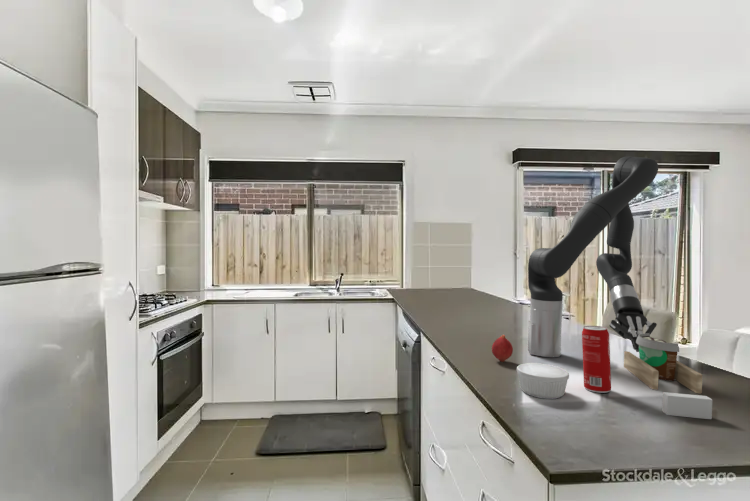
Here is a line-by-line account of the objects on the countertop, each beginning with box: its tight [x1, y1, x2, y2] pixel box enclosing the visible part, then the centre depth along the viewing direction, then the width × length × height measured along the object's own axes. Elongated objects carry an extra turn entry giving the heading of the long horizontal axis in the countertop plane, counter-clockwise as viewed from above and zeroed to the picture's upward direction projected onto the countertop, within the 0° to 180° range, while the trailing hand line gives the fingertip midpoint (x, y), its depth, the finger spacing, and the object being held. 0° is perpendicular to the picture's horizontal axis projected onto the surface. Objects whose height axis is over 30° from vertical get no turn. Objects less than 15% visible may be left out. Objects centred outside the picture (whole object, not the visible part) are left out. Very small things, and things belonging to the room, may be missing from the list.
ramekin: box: [516, 362, 570, 400], centre depth 95 cm, size 11×11×5 cm
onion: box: [491, 334, 514, 363], centre depth 118 cm, size 6×6×8 cm
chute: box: [623, 350, 703, 395], centre depth 106 cm, size 10×18×4 cm, turn 168°
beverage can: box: [581, 325, 612, 394], centre depth 97 cm, size 6×6×15 cm
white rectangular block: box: [661, 391, 713, 420], centre depth 84 cm, size 8×2×4 cm, turn 78°
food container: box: [636, 332, 680, 382], centre depth 110 cm, size 12×6×10 cm, turn 178°
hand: (640, 350), depth 118 cm, fingers closed
